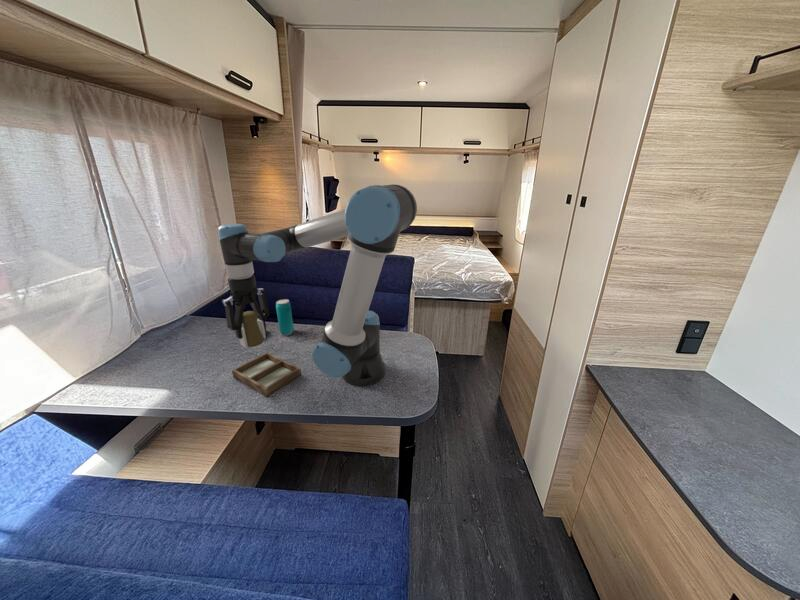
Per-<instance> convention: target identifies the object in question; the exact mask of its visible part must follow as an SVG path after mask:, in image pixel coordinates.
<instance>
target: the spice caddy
mask: <svg viewBox="0 0 800 600" xmlns="http://www.w3.org/2000/svg"><path fill="white" fill-rule="evenodd" d="M231 373H232V376H233V378H234V379H235V380H237V381H238V382H240V383H242V384H244V386H247V387H249V388H250V389H252V390H253V391H256V392H258V393H259V395H260V394H261V395H262V396H264V398H269V397H270V396H271V395H273V394H274V393H276V392H278V391H279V390H281V389H283V388H284V387H286V386H287V385H289V384H291V383H292V382H293V381H296V380H297V379H298V378H300V377H301V376H302V370H301V367H300V366H297V365H295V364H294V363H293V364H292V363H290V362H288V361H287V360H284V359H282V358H280V357H279V356H276V355H274V354H272V353H269V352H268V351H267V352H265V353H263V354H260V355H258V356H257V357H255V358H253V359H251V360H248V361H246V362H244V363H242V364H241V365H239V366H237V367H234V368H233V369H231Z"/></svg>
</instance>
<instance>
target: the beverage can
mask: <svg viewBox="0 0 800 600" xmlns="http://www.w3.org/2000/svg"><path fill="white" fill-rule="evenodd" d="M275 310H276V315H277V322H278V329H279V330H278V331H279V332H280V333H281V335H282V336H284V337H285V336H290V335H292V334H293V332H294V321H293V320H294V319H293V314H292V307H291V302H290V300H289V299H286V298H285V299H284V298H283V299H279V300H277V301H276V302H275Z"/></svg>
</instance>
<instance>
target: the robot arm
mask: <svg viewBox="0 0 800 600" xmlns="http://www.w3.org/2000/svg"><path fill="white" fill-rule="evenodd" d="M417 212H418V204H417V201H416V198H415V196H414V194H413V193H412V192H411V190H409V189H408V188H407V187H405V186H402V185H399V184H387V185H386V184H385V185H380V184H374V185H368V186H366V187H363V188H362V189H359V190H357V191H356V192H355V193H353V194H352V195H351V196H350V198H349V200H348V201H347V203H346V205H345V209H343V210H339V211H336V212H333V213H332V212H331V213H329V214H327V215H322V216H320V217H318V218H317V217H316V218H313V219H311V220H307V221H304V222H302V223H299V224H295V225H293V226H292V225H291V226H288V227H285V228H280V229H277V230H272V231H267V232H264V233H262V232H261V233H251V232H248V229H247V226H246V225H245V224H243V223H226V224H221V225H220V226H219V227H218V228H217V232H218V233H217V234H218V238H219V239H218V241H219V244H220V248H221V249H220V250H221V253H222V258H223V261H224V262H223V263H224V267H225V272H226V276H227V277H228V278H227V280H228V281H227V282H228V287H229V290H230V296H229V297H228V298H226V299H222V300H221V303H222V305H223V307H224V311H225V318H226V326H227V329H229V330H231V331H234V332H235V337H236V338H237V339H239V342H240V346H242V347H243V348H249V347H248V345H247V340H246V335H245V330H244V328H243V323H242V320H243V313H244V312H245V311H244V310H245V309H246V305H248V304H250V306H251V308H252V311H254V312H256V313H257V315H258V319H257V323H258V326H259V329H260V332H261V335H262V338H263V340H265V339H267V337H266V335H265V330H264V328H266V329H267V325H266V321H267V320H268V318H267V317H269V316H270V314H271V313H270V310H269V304H268V301H267V297H266V295H267V289H265V288H262V287H259V288H258V287H257V281H256V276H255V275H254V273H255V269H254V264H253V261H259V262H260V261H261V262H264V263H276V262H280V261H281V260H282V258H284V256H285V255H287V254H289V253H292V252H296V251H300V250H304V249H307V248H309V247H310V248H311V247H314V246H317V245H321V244H324V243H328V242H332V241H336V240H340V239H345V238H347V240H348V242H349V244H350V245H351V248H350V252H349V255H348V259H347V262H346V267H345V270H344V275H343V279H342V282H341V287H340V290H339V294H338V298H337V301H336V305H335V310H334V314H333V317H332V320H330V321H328V322H327V323H326V325H325V327H324V330H323V334H322V337H321V340H320V342H318V343H316V345H315V346H314V347H313V349H312V350H311V358H312V360H313V363H314V365H315V366H316V367H317V369H318V370H320V372H321V373H323V374H324V375H326V376H328V377H331V378H334V379H338V378H342V380H344V381H345V382H346V383H347V384H350V385H352V386H357V387H363V386H365V387H367V386H371V385H374V384H377V383H378V382H380V381H381V380H382V379H383V378H384V377H385V374H386V365H385V362H384V361H383V358H382V357H383V356H382V355H381V352H380V351H381V346H380V341H381V340H380V336H381V335H380V334H381V333H380V329H381V328H380V325H381V323H380V317H379V315H378V313H376V312H375V311H373V310H369V309H370V306H371V304H372V301H373V296H374V294H375V291H376V287H377V285H378V281H379V278H380V275H381V272H382V270H383V269H382V268H383V265H384V262H385V258H386V256H388V255H390V254H392V253H394V252H395V248H396V246H397V242H398V240H399V236H400V233H401V232H402V231H405V230H407V228H409V227H410V226H411V225H412V224H413V222H414V221H415V218H416V216H417ZM256 296H257V298H258V299H257V298H256ZM233 301H234V302H233ZM233 305H234V307H235V311H234V307H233Z"/></svg>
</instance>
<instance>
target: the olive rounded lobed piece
mask: <svg viewBox="0 0 800 600" xmlns="http://www.w3.org/2000/svg"><path fill="white" fill-rule="evenodd" d="M257 319H259V318H258V315H257V313H256V312H254V310H247V311H243V320H242V328H244V330H245V335H246V340H247V345H248V347H247V348H254V347H258V346H260V345H262V344H263V343H264V339H263V338H262V335H261V332H260V329H259V326H258V323H257Z"/></svg>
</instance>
